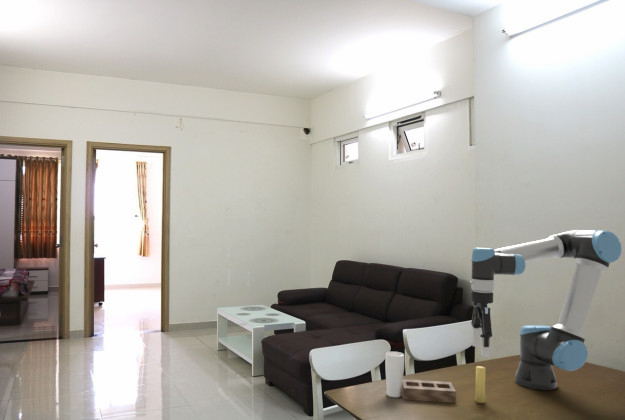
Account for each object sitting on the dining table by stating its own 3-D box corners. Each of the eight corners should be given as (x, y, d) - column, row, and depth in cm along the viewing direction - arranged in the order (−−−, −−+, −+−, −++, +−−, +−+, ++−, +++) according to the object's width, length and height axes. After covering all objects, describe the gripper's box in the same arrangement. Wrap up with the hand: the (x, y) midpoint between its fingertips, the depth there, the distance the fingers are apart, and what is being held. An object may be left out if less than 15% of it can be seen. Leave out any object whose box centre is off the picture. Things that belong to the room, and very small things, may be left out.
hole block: (450, 392, 181) (450, 382, 181) (455, 402, 171) (455, 391, 171) (401, 389, 183) (401, 379, 183) (403, 399, 173) (403, 388, 173)
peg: (483, 400, 175) (484, 366, 175) (485, 403, 172) (486, 369, 172) (474, 399, 175) (475, 365, 175) (476, 402, 172) (477, 368, 172)
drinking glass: (404, 393, 179) (405, 352, 179) (401, 399, 173) (402, 357, 173) (386, 391, 181) (387, 350, 182) (382, 397, 175) (383, 355, 175)
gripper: (464, 286, 187) (462, 341, 187) (479, 295, 162) (477, 360, 162) (484, 287, 186) (482, 342, 186) (502, 296, 161) (501, 361, 161)
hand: (480, 351), depth 174 cm, fingers open, 13 cm apart
